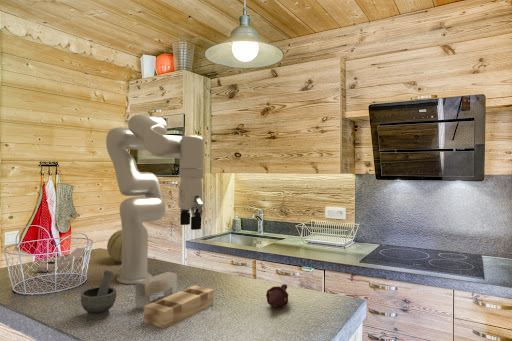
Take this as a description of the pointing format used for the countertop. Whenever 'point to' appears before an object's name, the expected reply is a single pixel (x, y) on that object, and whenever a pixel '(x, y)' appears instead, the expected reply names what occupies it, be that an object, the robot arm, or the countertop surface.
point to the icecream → (277, 297)
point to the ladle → (60, 261)
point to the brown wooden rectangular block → (178, 306)
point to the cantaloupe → (115, 246)
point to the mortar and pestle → (99, 298)
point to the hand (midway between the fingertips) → (190, 226)
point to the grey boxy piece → (155, 288)
